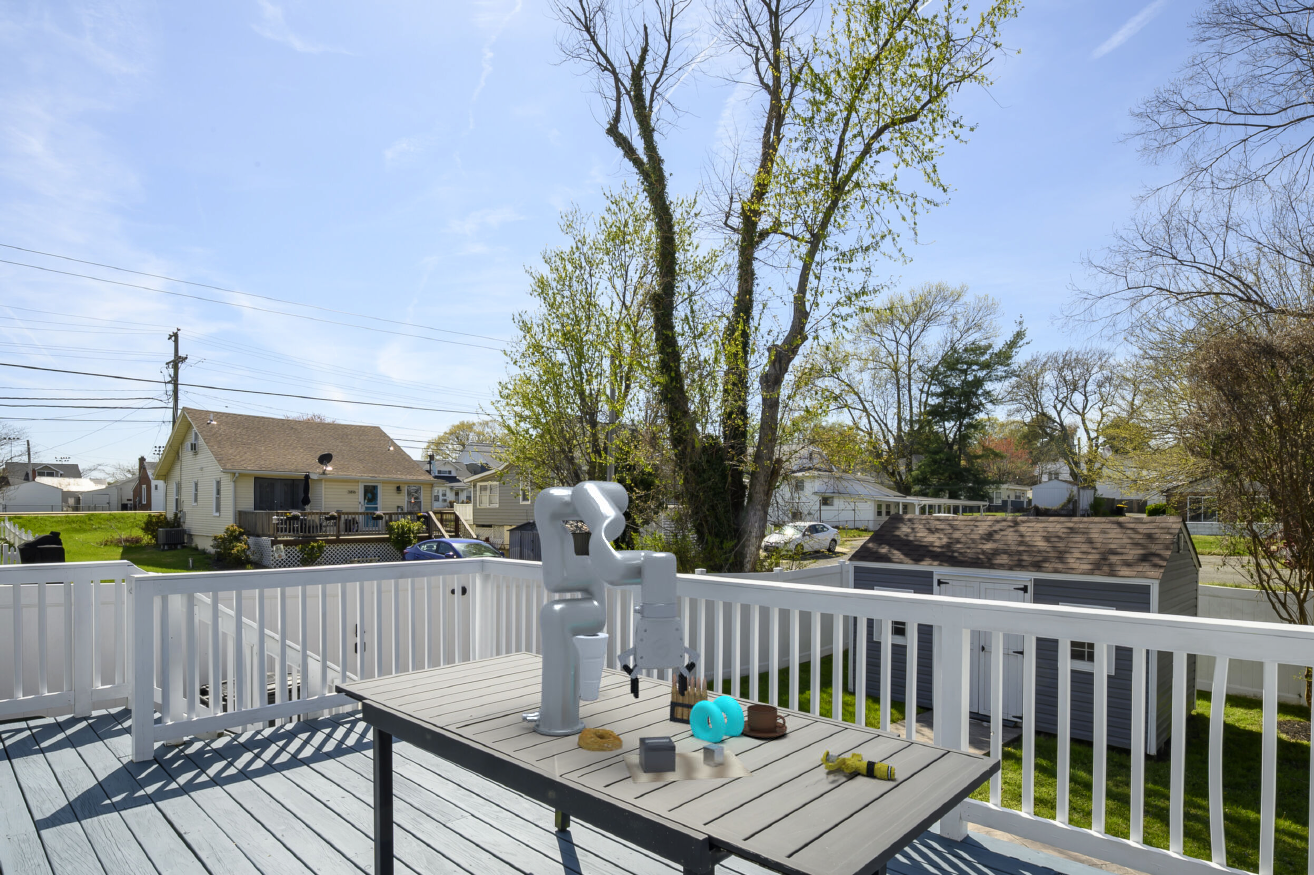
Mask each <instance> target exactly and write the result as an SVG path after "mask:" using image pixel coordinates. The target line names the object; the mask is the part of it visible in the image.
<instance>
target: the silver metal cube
mask: <svg viewBox="0 0 1314 875" xmlns="http://www.w3.org/2000/svg"><path fill="white" fill-rule="evenodd" d="M724 748H725V747H724V746H723V745H720V744H718V743H713V742H711V743H708V744H707V745H704V746H703V750H702V752H703V764H705V765H708V766H712V767H717V766H720V765H722V764H724V751H725V749H724Z"/></svg>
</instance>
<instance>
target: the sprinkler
mask: <svg viewBox="0 0 1314 875" xmlns="http://www.w3.org/2000/svg"><path fill="white" fill-rule="evenodd" d="M820 762H821V763H822V764H823V765H824V770H827V771H835V770H837V769H839V771H842V772H845V773H847V774H848V773H849V774H850V773H853V772H858V773H860V774H862V775H864V776H866V777H870V778H874V779H875V777H876V778H877V779H880V780H881V779H882V780H885V781H888V780H895V779H896V772H895V771H896V768H895V767H893V766H892V765H889V764H887V763H883V762H880V761H873V760H869V759H867V761H866V760H863V754H862V753H856V752H851V755H850V756H849V757H845V756H844V757H843V756H838V755H835V754H830V751H829V750H828V749H827V750H825V752H824V753H823V754H822V757H821V758H820Z"/></svg>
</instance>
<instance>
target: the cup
mask: <svg viewBox="0 0 1314 875" xmlns="http://www.w3.org/2000/svg"><path fill="white" fill-rule="evenodd" d="M572 639H573V641H574V643H575V645H576V646H577V648H578V650H579V653H580V700H582V701H588V702H589V701H590V702H591V701H597V700H598V698H599V692H600V687H601V681H602V676H603V671H604V666H605V659H606V653H607V647H608V642H609V634H608V633H604V632H599V633H597V634H593V635H584V636H576V637H572Z"/></svg>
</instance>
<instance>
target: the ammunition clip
mask: <svg viewBox="0 0 1314 875" xmlns="http://www.w3.org/2000/svg"><path fill="white" fill-rule="evenodd" d="M672 675H673V676H672V679H671V680H672V682H671V683H672V684H671V691H670V692H671V693H670V696H671V697H670V699H671V700H670V703H669V719H668V720H669V722H672V723H677V724H683V725H689V726H690V714H691V711H692V709H693V707H694V706H695V704H697V703H698V702H700V701H704V700H706V701H709V699H708V698H709V696H708V684H707V679H706V677H703V679H702V682H701V678H700V676H697V678H696V684H695V677H694V676H693V675H692V676H691V678H690V680H689V675H688V676H687V691H685V697H682V696H681V695H680V694H679V693H678V680H677V675H676V673H673V674H672ZM689 681H690V682H689ZM701 683H702V686H701ZM707 723H708V725H709V726H710V718H709V717H708V718H707Z"/></svg>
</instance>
